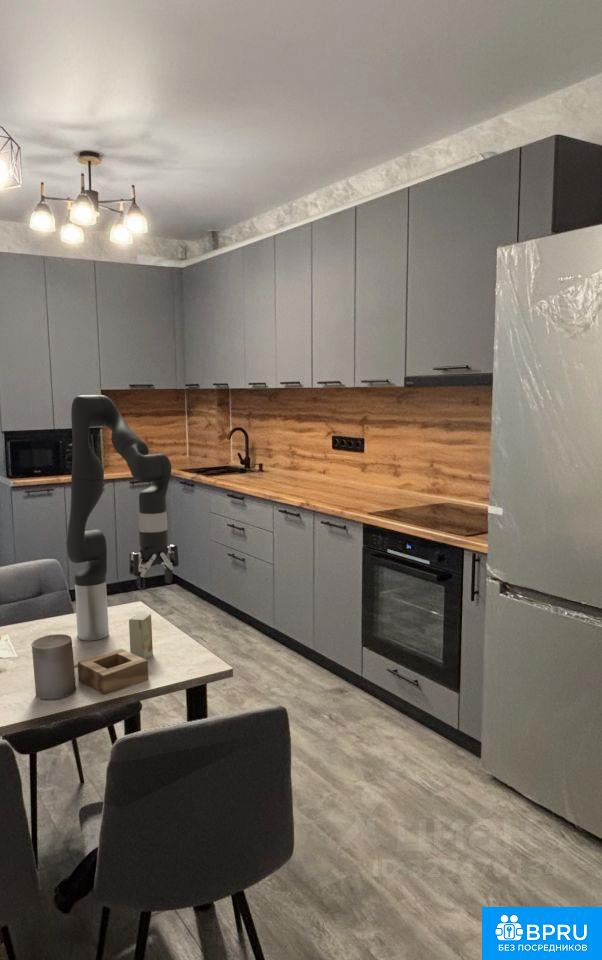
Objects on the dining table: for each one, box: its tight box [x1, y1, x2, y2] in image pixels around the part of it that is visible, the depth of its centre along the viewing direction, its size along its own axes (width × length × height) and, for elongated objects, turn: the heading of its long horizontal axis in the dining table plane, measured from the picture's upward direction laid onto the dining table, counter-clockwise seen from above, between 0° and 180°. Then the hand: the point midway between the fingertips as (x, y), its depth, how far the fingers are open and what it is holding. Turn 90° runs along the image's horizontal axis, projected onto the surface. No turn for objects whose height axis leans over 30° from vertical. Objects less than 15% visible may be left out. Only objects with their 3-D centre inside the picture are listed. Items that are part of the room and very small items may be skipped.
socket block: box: [76, 648, 149, 696], centre depth 186 cm, size 13×13×5 cm
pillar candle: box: [30, 633, 77, 701], centre depth 179 cm, size 10×10×15 cm
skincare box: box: [128, 612, 154, 660], centre depth 201 cm, size 6×4×12 cm
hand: (155, 586), depth 194 cm, fingers open, 8 cm apart
